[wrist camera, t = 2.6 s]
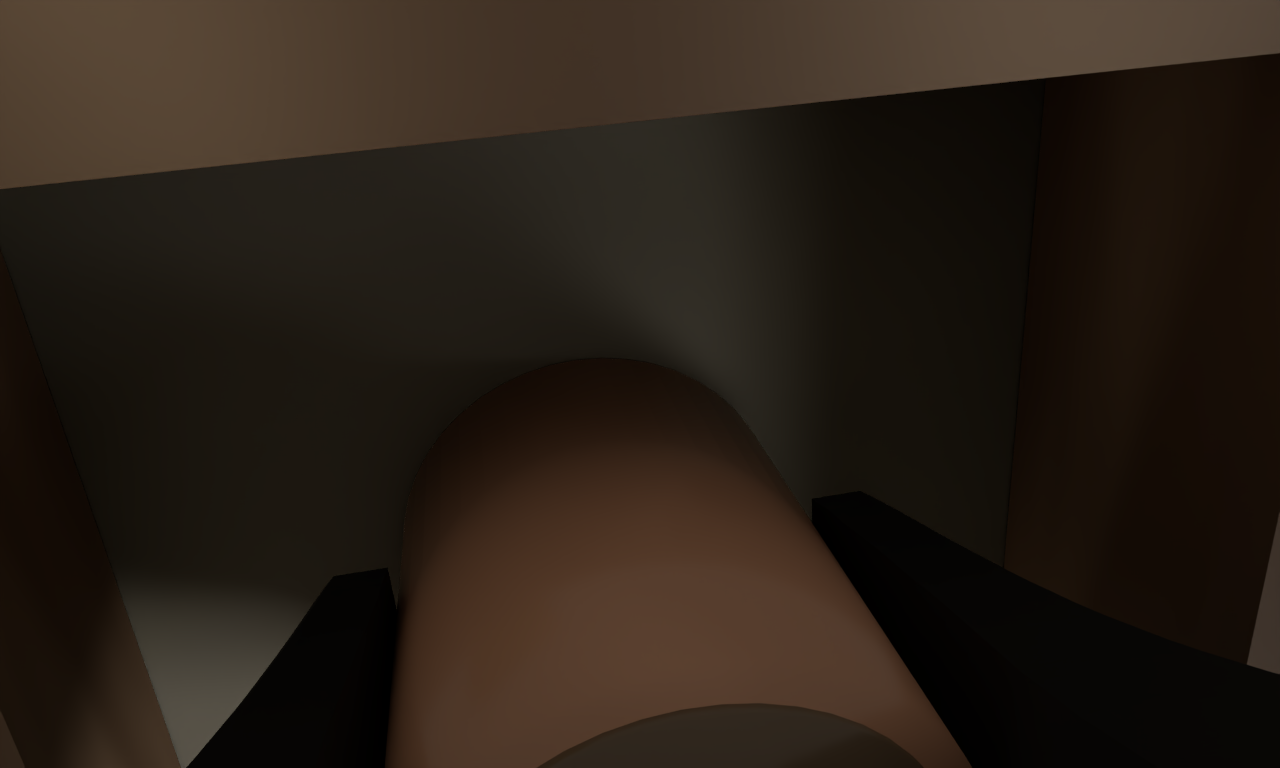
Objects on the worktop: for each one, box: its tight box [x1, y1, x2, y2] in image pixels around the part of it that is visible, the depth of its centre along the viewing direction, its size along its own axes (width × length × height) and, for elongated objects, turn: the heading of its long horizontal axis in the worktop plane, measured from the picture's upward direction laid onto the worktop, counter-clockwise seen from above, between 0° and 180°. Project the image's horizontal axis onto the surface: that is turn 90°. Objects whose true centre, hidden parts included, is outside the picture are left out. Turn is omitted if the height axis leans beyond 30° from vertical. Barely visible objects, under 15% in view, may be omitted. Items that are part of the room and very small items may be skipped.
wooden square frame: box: [0, 0, 1280, 768], centre depth 11 cm, size 14×14×4 cm
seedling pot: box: [385, 358, 972, 768], centre depth 10 cm, size 5×5×6 cm
